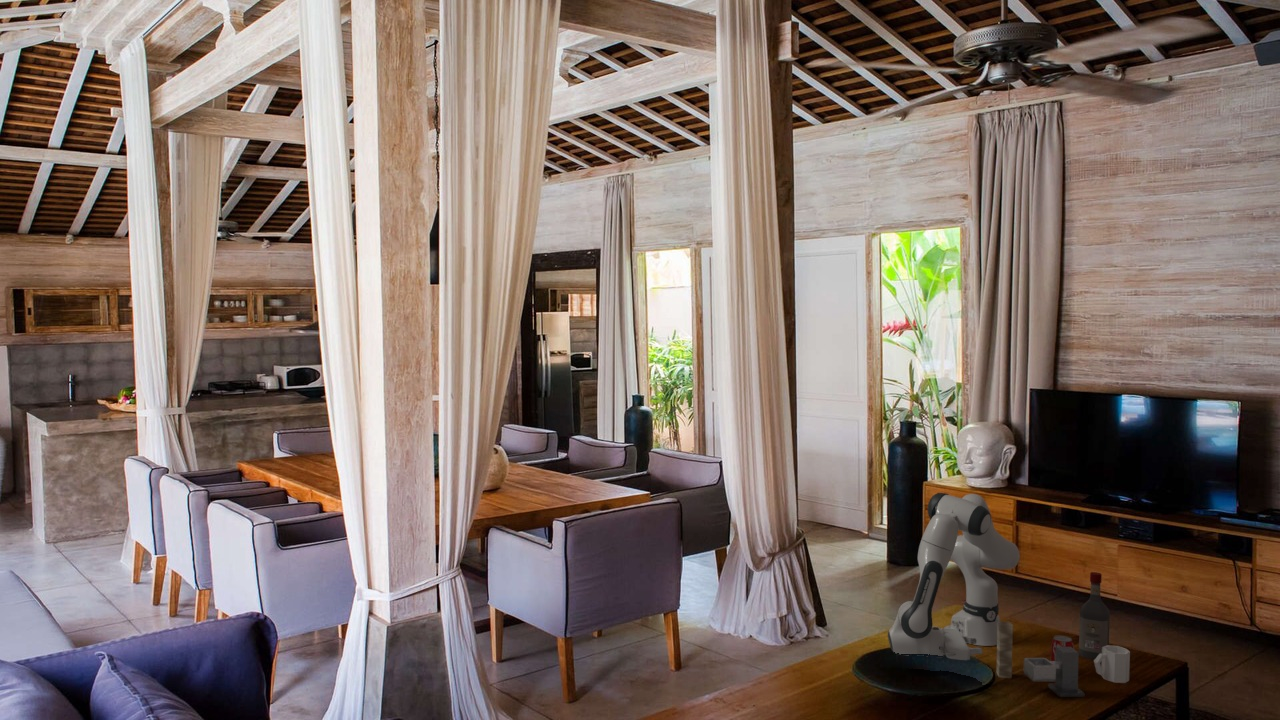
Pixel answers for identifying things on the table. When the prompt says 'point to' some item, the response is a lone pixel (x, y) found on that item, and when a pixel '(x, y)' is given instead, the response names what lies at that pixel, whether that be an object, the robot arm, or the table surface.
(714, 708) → the table surface
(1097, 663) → the mug
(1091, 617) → the liquor
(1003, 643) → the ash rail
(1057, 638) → the soda can
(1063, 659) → the cup bracket
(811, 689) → the table surface
